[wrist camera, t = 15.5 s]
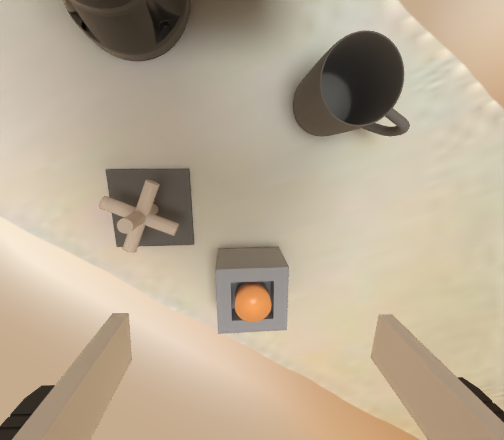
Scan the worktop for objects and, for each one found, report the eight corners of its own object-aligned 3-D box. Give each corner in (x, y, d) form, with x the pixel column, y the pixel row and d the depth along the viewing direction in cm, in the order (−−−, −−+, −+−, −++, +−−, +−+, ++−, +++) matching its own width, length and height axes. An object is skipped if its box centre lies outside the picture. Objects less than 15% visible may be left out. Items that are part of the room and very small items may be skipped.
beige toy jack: (194, 191, 38) (181, 203, 28) (172, 248, 40) (153, 277, 30) (129, 165, 37) (92, 167, 27) (110, 226, 38) (69, 248, 29)
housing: (218, 248, 41) (215, 269, 33) (278, 246, 42) (288, 267, 34) (221, 302, 44) (218, 333, 36) (277, 300, 44) (286, 330, 36)
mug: (280, 115, 37) (301, 95, 25) (314, 57, 35) (353, 7, 24) (352, 163, 39) (401, 166, 28) (386, 111, 38) (454, 89, 26)
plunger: (234, 281, 35) (234, 290, 33) (269, 279, 36) (271, 288, 33) (235, 312, 37) (235, 323, 34) (268, 310, 37) (271, 321, 34)
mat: (107, 169, 37) (105, 169, 36) (189, 168, 38) (188, 168, 37) (118, 245, 40) (116, 246, 39) (194, 243, 41) (193, 244, 40)
